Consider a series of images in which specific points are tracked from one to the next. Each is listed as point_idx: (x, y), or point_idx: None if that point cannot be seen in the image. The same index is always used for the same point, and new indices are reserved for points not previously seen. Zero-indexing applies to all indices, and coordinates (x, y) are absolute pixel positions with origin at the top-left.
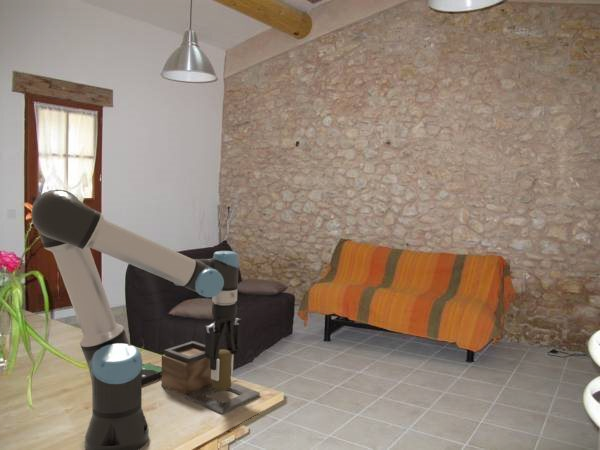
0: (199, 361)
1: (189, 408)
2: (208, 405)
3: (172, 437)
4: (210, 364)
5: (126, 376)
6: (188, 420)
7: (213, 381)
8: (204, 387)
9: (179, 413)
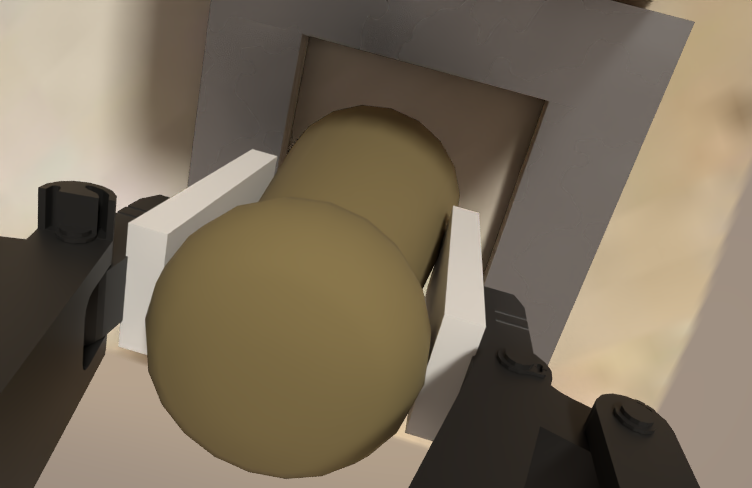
0: None
1: (126, 54)
2: (189, 181)
3: None
4: (115, 220)
5: None
6: (13, 149)
7: (281, 164)
8: None
9: (36, 35)
